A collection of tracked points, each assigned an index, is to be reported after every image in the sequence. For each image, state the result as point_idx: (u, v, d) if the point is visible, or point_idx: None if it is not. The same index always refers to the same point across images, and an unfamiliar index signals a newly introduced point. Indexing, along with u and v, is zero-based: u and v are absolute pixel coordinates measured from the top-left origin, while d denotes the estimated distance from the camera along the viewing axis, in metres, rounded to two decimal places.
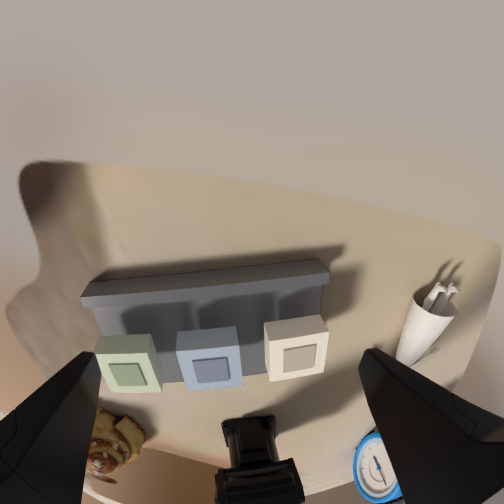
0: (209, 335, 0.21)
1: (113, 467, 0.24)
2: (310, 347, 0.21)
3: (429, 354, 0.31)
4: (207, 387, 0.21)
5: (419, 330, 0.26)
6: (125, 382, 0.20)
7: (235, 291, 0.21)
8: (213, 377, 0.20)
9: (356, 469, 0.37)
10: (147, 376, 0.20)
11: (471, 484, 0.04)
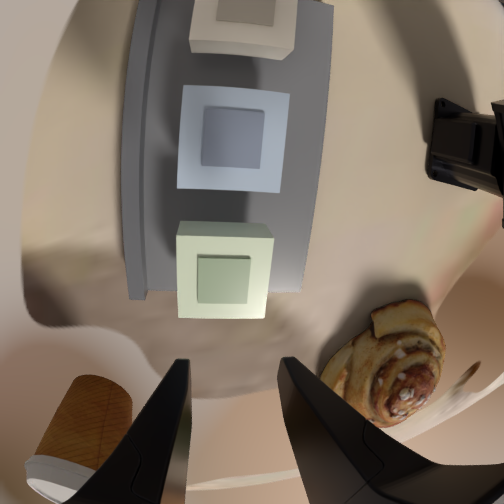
0: None
1: (427, 374, 0.19)
2: None
3: None
4: (279, 156, 0.12)
5: None
6: (239, 290, 0.14)
7: (137, 89, 0.12)
8: (248, 138, 0.11)
9: None
10: (231, 250, 0.13)
11: None
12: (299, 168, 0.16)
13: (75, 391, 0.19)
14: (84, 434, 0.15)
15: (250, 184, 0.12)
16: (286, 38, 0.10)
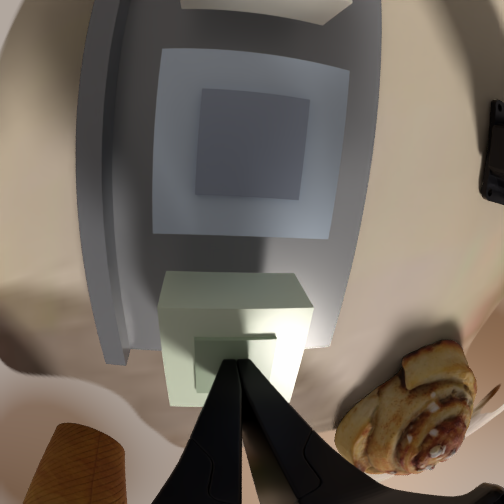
0: None
1: (460, 427, 0.14)
2: None
3: None
4: (331, 177, 0.07)
5: None
6: None
7: (98, 69, 0.07)
8: (280, 145, 0.06)
9: None
10: (247, 326, 0.08)
11: None
12: (339, 187, 0.11)
13: (58, 443, 0.14)
14: (70, 498, 0.10)
15: (281, 226, 0.07)
16: None
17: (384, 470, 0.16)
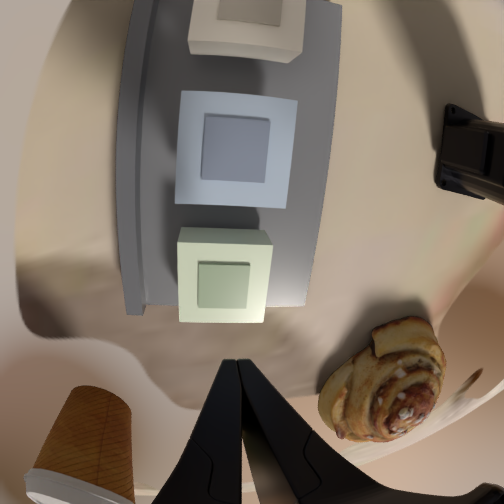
0: None
1: (427, 393, 0.18)
2: None
3: None
4: (285, 169, 0.11)
5: None
6: (239, 295, 0.14)
7: (132, 94, 0.12)
8: (252, 150, 0.11)
9: None
10: (231, 256, 0.14)
11: None
12: (304, 178, 0.16)
13: (73, 403, 0.19)
14: (83, 448, 0.15)
15: (254, 199, 0.12)
16: (294, 39, 0.09)
17: (362, 434, 0.21)
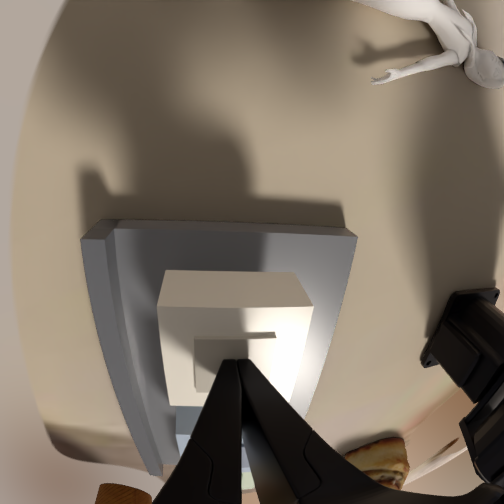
0: None
1: None
2: (199, 347, 0.08)
3: None
4: None
5: None
6: None
7: (123, 379, 0.12)
8: None
9: None
10: None
11: None
12: None
13: (107, 499, 0.19)
14: None
15: (243, 470, 0.12)
16: (282, 394, 0.10)
17: None
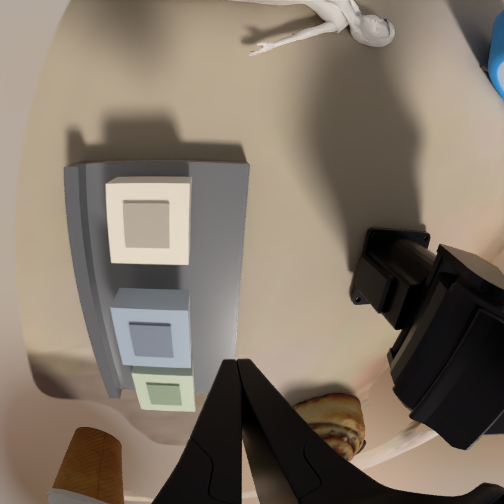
0: None
1: None
2: (126, 210, 0.14)
3: None
4: (186, 349, 0.16)
5: None
6: (175, 399, 0.20)
7: (84, 277, 0.17)
8: (162, 342, 0.16)
9: None
10: (166, 381, 0.19)
11: None
12: (219, 321, 0.21)
13: (78, 440, 0.24)
14: (87, 474, 0.20)
15: (169, 364, 0.17)
16: (181, 256, 0.16)
17: None
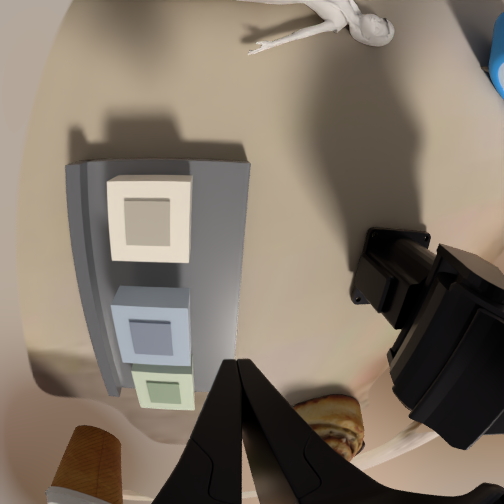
0: None
1: None
2: (127, 208, 0.14)
3: None
4: (186, 347, 0.17)
5: None
6: (175, 398, 0.20)
7: (84, 275, 0.17)
8: (162, 339, 0.16)
9: None
10: (166, 379, 0.19)
11: None
12: (219, 320, 0.21)
13: (78, 439, 0.24)
14: (86, 472, 0.20)
15: (169, 362, 0.17)
16: (182, 253, 0.16)
17: None
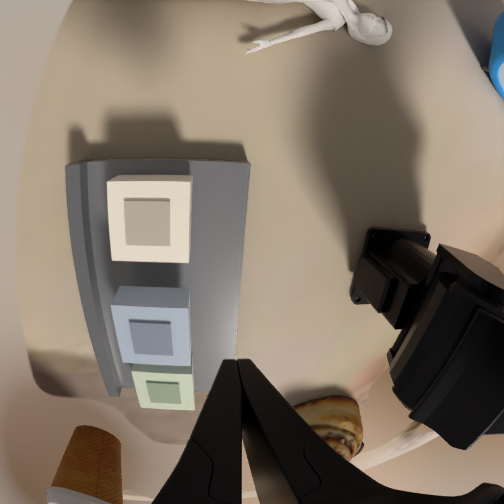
0: None
1: None
2: (127, 208, 0.14)
3: None
4: (186, 347, 0.17)
5: None
6: (175, 398, 0.20)
7: (84, 275, 0.17)
8: (162, 339, 0.16)
9: None
10: (166, 379, 0.19)
11: None
12: (219, 320, 0.21)
13: (78, 439, 0.24)
14: (86, 472, 0.20)
15: (169, 362, 0.17)
16: (182, 253, 0.16)
17: None
